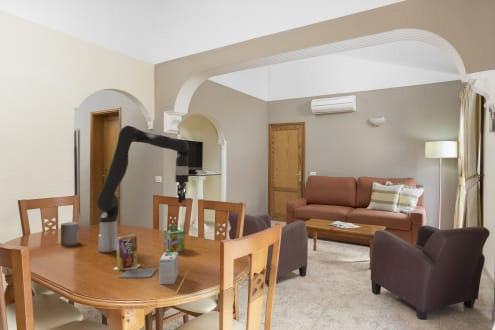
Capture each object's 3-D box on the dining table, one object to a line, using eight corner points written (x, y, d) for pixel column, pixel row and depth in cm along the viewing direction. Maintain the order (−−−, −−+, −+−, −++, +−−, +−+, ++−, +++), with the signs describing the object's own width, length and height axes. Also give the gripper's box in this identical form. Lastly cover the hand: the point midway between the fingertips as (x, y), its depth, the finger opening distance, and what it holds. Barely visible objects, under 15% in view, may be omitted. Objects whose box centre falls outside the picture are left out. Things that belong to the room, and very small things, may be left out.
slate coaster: (119, 277, 136) (119, 276, 136) (127, 270, 146) (127, 268, 146) (150, 277, 136) (150, 276, 136) (156, 269, 146) (156, 268, 146)
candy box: (134, 263, 154) (133, 234, 154) (137, 265, 151) (137, 235, 151) (116, 267, 148) (116, 236, 148) (119, 270, 145) (119, 238, 145)
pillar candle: (57, 246, 189) (56, 222, 189) (71, 242, 198) (71, 219, 198) (68, 247, 185) (67, 223, 185) (82, 243, 194) (81, 220, 194)
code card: (112, 269, 146) (112, 269, 146) (118, 264, 153) (118, 264, 153) (135, 269, 146) (135, 269, 146) (140, 264, 153) (140, 264, 153)
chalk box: (170, 254, 171) (170, 228, 171) (163, 250, 178) (163, 225, 178) (185, 250, 177) (185, 225, 177) (178, 247, 184) (177, 223, 184)
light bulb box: (163, 275, 139) (163, 251, 139) (178, 274, 139) (178, 251, 139) (158, 284, 128) (158, 259, 128) (174, 283, 129) (174, 258, 129)
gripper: (178, 173, 184) (178, 200, 184) (172, 174, 169) (172, 203, 170) (190, 173, 184) (190, 200, 184) (186, 174, 170) (186, 203, 170)
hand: (181, 201), depth 177 cm, fingers open, 8 cm apart
